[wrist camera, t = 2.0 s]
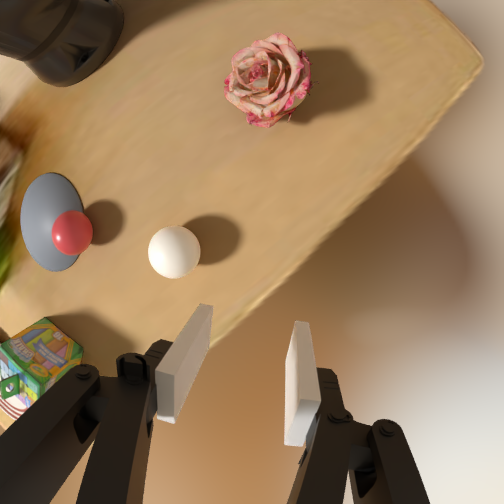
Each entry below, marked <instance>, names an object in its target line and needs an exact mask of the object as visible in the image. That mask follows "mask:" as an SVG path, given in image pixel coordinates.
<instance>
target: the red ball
mask: <svg viewBox="0 0 504 504" xmlns="http://www.w3.org/2000/svg"><path fill="white" fill-rule="evenodd" d="M92 236H93V229H92V225H91V222H90V220H89V219H88V217H87V216H86V215H84V214H83V213H82V212H79V211H76V210H70V211H66V212H64V213H62V214H61V215H59V216H58V217H57V219H56V220H55V222H54V224H53V227H52V240H53V243H54V245H55V246H56V248H57V249H58V250H59V251H60V252H62V253H63V254H66V255H78V254H80V253H82V252H84V251H85V250H86V249H87V248H88V246H89V245H90V243H91V240H92Z"/></svg>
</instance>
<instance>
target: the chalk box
mask: <svg viewBox="0 0 504 504" xmlns="http://www.w3.org/2000/svg"><path fill="white" fill-rule="evenodd" d="M82 354H83V348H82V347H81V346H79V345H78V344H77V343H76V342H74V341H73V340H72V339H71V338H69V337H68V336H67V335H66V334H64V333H63V332H62V331H61V330H60V329H58V328H57V327H56V326H55V325H54V324H52V323H51V322H50V321H49V320H48V319H47V318H46V317H44V318H42V319H41V320H39V321H38V322H36V323H34V324H33V325H31V326H29V327H28V328H26V329H25V330H23V331H21V332H20V333H18V334H16V335H15V336H13V337H12V338H10V339H8V340H7V341H5V342H4V343H2V344H1V345H0V375H1V381H0V392H1V397H2V399H3V400H4V399H7V398H9V397H12V396H14V395H15V396H16V397H17V398H18V399H19V400H20V401H21V402H22V403H23V404H24V405H26V406H27V407H28V408H29V407H30V406H31V405H32V404H33V403H34V402H35V401H36V400H38V399H39V398H40V397H41V396H42V395H43V394H44V393H45V392H46V391H47V390H48V389H49V388H50V387H51V386H52V385H53V384H54V383H55V382H57V381H58V380H59V379H60V378H61V377H62V376H63V375H64V374H65V373H66V372H67V371H68V370H69V369H71V368H72V367H74V366H75V365H79V364H80V363H81V358H82ZM6 387H7V388H8V389H9V390H10V392H7V391H6Z"/></svg>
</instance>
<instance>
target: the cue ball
mask: <svg viewBox="0 0 504 504" xmlns="http://www.w3.org/2000/svg"><path fill="white" fill-rule="evenodd" d="M148 255H149V260H150V263H151V265H152V266H153V268H154V269H155V270H156V271H157V272H158V273H159V274H161V275H162V276H165V277H167V278H181V277H184V276H186V275H188V274H190V273H191V272H192V271H193V270H194V269H195V268H196V266H197V264H198V262H199V259H200V245H199V242H198V240H197V238H196V236H195V235H194V234H193V233H192V232H191V231H190V230H188V229H187V228H185V227H182V226H176V225H173V226H167V227H164V228H162V229H161V230H159V231H158V232H157V233H156V234H155V235H154V236H153V237H152V239H151V241H150V244H149V249H148Z"/></svg>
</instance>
